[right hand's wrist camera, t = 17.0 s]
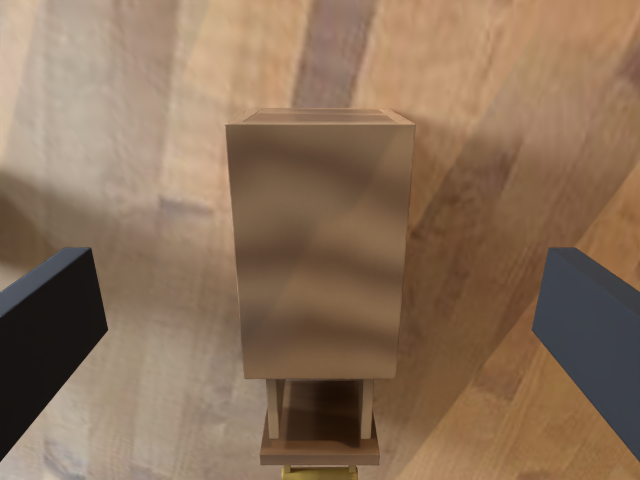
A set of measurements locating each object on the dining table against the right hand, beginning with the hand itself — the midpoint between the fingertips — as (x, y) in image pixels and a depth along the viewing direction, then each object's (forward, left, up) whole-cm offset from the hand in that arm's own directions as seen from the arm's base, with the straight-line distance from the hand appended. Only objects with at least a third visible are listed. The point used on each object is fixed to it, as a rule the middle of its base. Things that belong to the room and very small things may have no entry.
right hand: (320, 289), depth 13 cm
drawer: (+10, -16, -25) cm, 31 cm away
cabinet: (+3, -5, -26) cm, 26 cm away
